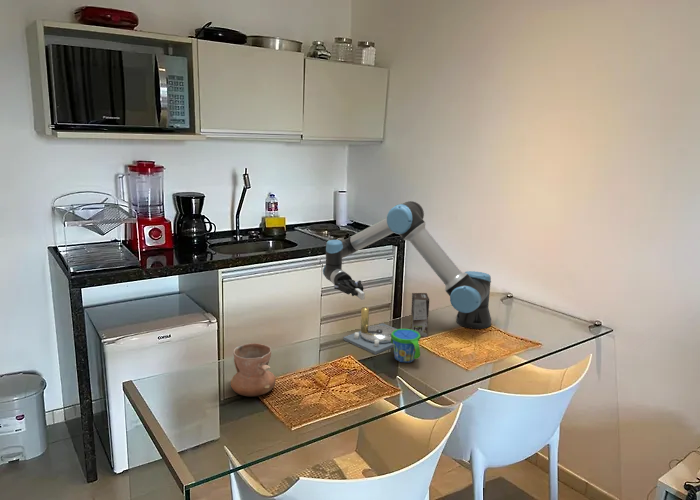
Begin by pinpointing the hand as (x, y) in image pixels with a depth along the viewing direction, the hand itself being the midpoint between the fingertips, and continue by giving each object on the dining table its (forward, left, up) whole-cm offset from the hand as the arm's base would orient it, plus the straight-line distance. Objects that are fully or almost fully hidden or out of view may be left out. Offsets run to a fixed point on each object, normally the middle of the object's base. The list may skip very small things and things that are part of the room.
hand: (362, 296), depth 219 cm
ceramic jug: (-10, +61, -16) cm, 64 cm away
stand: (-9, 0, -16) cm, 19 cm away
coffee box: (-15, -18, -16) cm, 29 cm away
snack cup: (-28, +6, -16) cm, 33 cm away
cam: (-9, 0, -14) cm, 17 cm away
